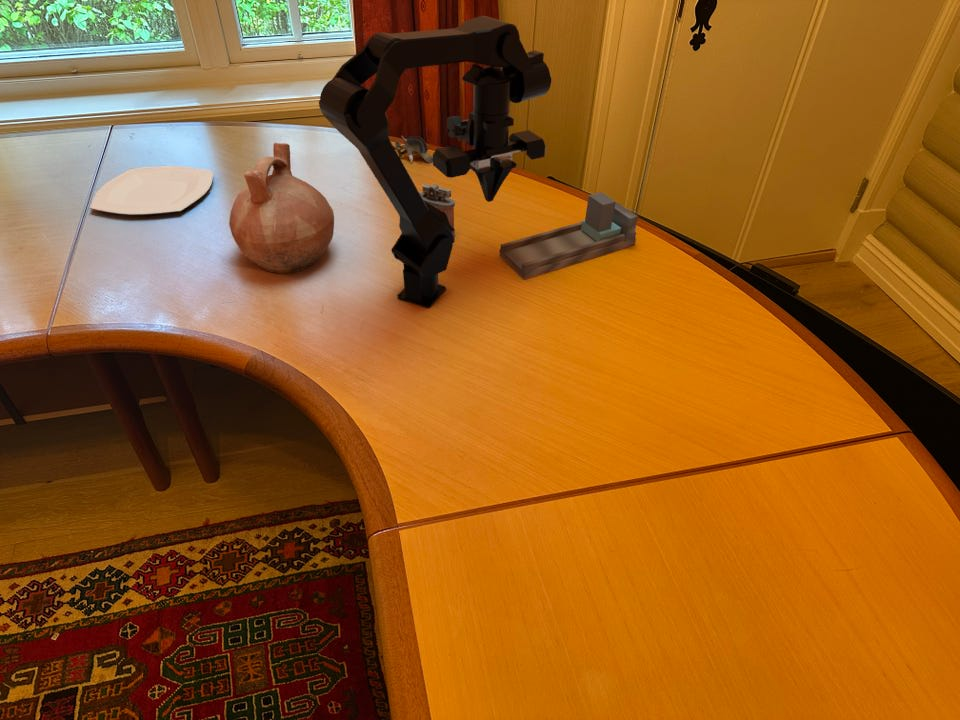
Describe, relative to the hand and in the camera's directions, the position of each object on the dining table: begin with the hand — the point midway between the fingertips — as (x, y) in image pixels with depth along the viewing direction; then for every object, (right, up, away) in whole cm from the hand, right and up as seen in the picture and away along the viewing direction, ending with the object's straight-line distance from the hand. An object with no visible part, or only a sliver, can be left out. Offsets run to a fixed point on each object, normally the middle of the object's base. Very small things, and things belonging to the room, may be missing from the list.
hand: (488, 200), depth 105 cm
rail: (+15, -7, +12) cm, 21 cm away
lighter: (-10, -2, +17) cm, 20 cm away
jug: (-37, -8, +9) cm, 40 cm away
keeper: (+22, -3, +15) cm, 27 cm away
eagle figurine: (-18, +21, +43) cm, 51 cm away
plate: (-72, +8, +27) cm, 78 cm away
